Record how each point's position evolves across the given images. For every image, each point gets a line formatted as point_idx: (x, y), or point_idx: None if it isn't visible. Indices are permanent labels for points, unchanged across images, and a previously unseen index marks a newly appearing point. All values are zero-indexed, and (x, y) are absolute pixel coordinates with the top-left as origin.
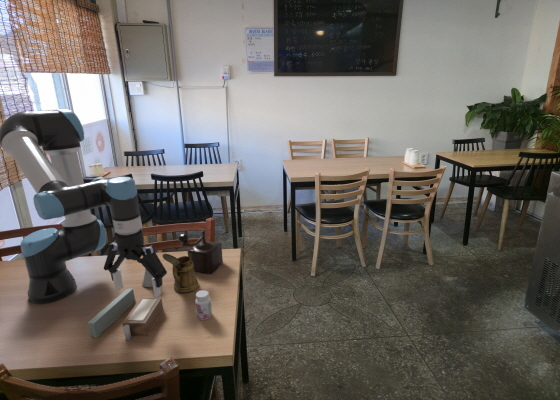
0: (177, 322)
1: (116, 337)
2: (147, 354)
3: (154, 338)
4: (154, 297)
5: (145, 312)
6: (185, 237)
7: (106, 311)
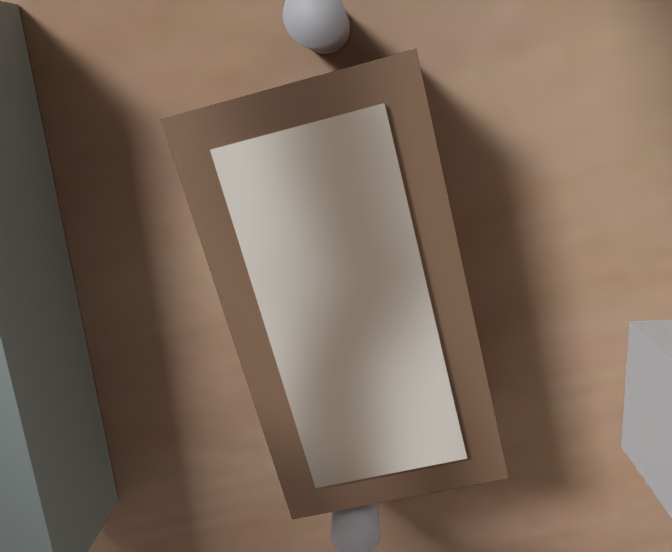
0: (651, 191)
1: (257, 467)
2: (595, 547)
3: (554, 411)
4: (624, 450)
5: (411, 353)
6: None
7: (19, 440)
